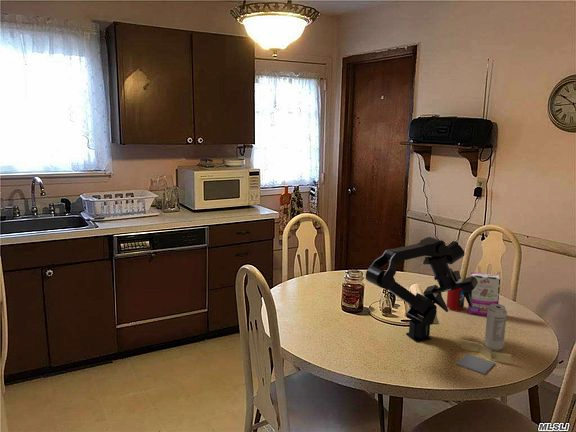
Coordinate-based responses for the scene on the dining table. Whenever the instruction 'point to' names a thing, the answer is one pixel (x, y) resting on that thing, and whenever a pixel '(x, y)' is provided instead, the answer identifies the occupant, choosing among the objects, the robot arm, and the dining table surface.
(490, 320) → the energy drink can
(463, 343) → the zigzag wooden bar
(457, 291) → the beverage can
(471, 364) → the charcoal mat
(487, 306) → the candy bar box
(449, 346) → the dining table surface
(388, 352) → the dining table surface
